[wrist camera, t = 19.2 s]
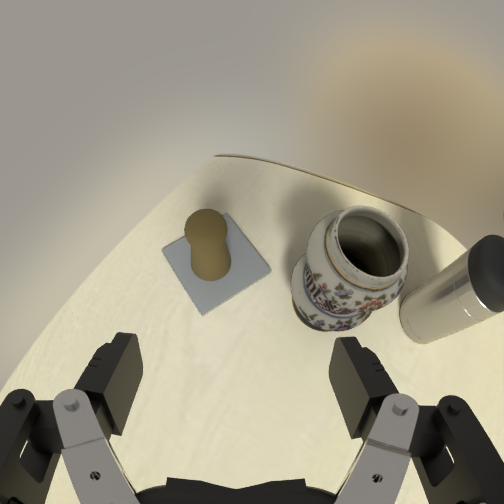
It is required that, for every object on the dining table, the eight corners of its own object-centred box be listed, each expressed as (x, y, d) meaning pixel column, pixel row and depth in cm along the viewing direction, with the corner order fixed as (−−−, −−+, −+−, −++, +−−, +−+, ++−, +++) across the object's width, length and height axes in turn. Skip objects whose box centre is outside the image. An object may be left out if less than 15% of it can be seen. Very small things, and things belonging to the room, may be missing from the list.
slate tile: (226, 215, 48) (226, 213, 47) (270, 272, 44) (271, 270, 43) (162, 252, 44) (161, 250, 44) (202, 316, 40) (201, 314, 40)
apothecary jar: (356, 264, 45) (410, 197, 29) (363, 337, 40) (434, 300, 24) (283, 260, 45) (309, 185, 29) (284, 339, 40) (319, 301, 23)
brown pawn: (182, 258, 43) (169, 218, 33) (215, 236, 45) (211, 192, 35) (206, 289, 41) (198, 255, 32) (239, 265, 43) (241, 225, 33)
